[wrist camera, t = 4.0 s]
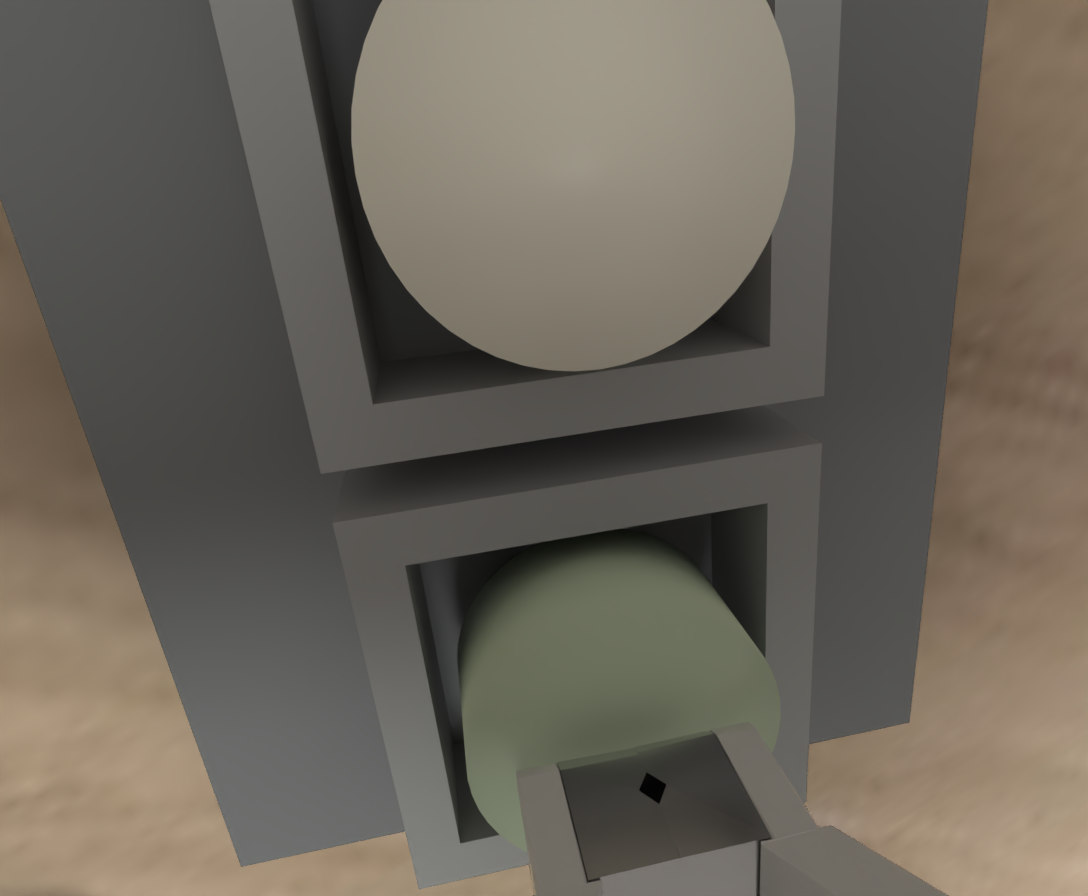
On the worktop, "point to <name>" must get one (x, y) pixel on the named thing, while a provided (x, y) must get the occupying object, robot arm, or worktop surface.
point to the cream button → (572, 166)
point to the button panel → (468, 397)
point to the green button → (598, 662)
